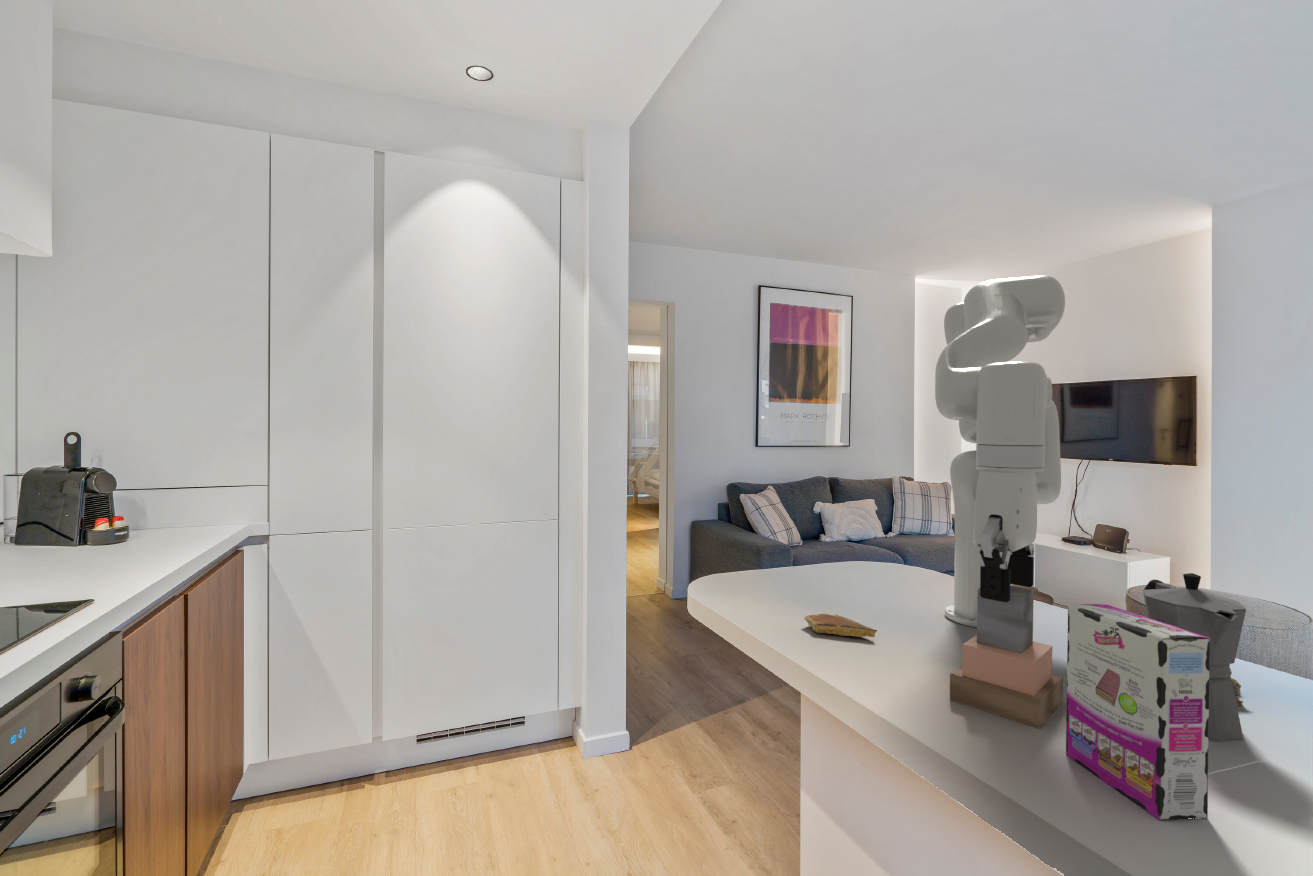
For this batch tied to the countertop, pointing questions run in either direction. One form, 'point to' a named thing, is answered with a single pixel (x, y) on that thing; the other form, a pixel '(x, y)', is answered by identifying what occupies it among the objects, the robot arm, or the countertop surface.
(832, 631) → the flatbread slice
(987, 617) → the grey block
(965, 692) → the tower base
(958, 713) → the countertop surface
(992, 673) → the tower top
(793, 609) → the countertop surface
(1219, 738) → the coffeepot
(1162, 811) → the candy bar box
